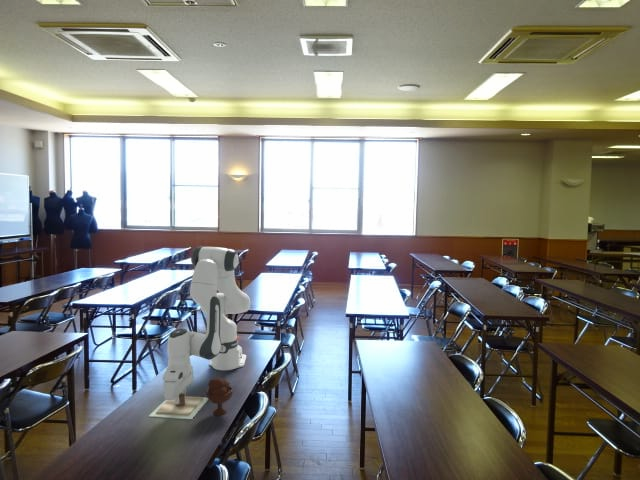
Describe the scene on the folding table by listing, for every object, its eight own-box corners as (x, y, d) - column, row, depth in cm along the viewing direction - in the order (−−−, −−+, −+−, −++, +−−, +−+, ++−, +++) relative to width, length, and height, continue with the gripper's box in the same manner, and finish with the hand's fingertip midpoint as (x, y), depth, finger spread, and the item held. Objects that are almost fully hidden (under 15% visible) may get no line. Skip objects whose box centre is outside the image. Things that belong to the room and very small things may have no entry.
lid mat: (170, 396, 185) (170, 395, 185) (209, 398, 183) (209, 397, 183) (149, 416, 168) (148, 415, 168) (191, 419, 165) (191, 418, 165)
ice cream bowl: (227, 420, 165) (226, 383, 164) (201, 417, 167) (200, 381, 166) (237, 407, 175) (237, 373, 174) (213, 404, 178) (212, 370, 176)
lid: (172, 397, 183) (172, 387, 183) (202, 399, 182) (202, 388, 181) (156, 413, 169) (155, 402, 169) (189, 415, 168) (188, 404, 167)
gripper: (183, 359, 185) (183, 389, 186) (160, 378, 164) (161, 412, 166) (196, 359, 184) (197, 389, 185) (175, 379, 164) (176, 412, 165)
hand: (180, 400), depth 175 cm, fingers closed on lid, 4 cm apart
